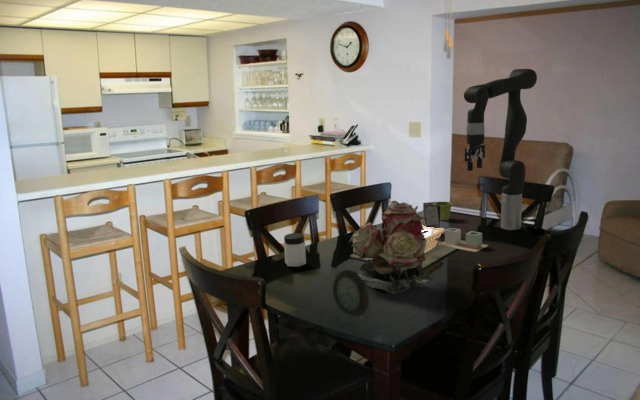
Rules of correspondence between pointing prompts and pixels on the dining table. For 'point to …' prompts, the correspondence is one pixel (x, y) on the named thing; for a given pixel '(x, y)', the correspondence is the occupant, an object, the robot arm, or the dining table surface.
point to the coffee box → (431, 214)
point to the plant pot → (444, 210)
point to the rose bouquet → (393, 249)
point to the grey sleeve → (452, 236)
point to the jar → (294, 250)
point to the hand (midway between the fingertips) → (474, 169)
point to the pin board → (462, 246)
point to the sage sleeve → (474, 240)
